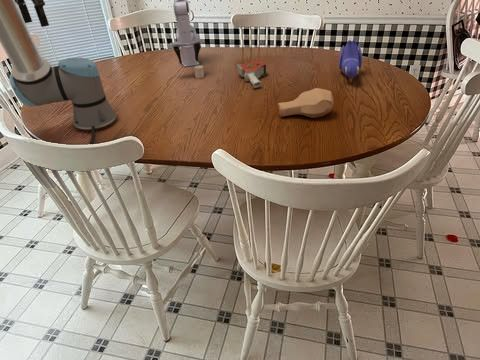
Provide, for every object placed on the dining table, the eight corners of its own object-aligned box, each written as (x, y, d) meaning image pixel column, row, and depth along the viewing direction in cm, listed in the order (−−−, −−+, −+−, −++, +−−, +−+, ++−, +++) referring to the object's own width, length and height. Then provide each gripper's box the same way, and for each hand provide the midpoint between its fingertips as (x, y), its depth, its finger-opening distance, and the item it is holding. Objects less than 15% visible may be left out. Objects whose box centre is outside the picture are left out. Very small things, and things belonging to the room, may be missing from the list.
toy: (337, 76, 168) (339, 86, 146) (339, 39, 162) (341, 42, 139) (359, 76, 166) (364, 85, 144) (361, 37, 159) (367, 41, 137)
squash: (337, 118, 126) (338, 97, 119) (281, 128, 127) (279, 108, 121) (330, 101, 133) (330, 80, 127) (277, 111, 135) (275, 90, 128)
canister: (203, 74, 169) (202, 64, 167) (204, 77, 166) (203, 67, 163) (195, 75, 169) (194, 65, 166) (195, 78, 166) (194, 68, 163)
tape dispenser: (257, 93, 151) (279, 75, 164) (257, 81, 148) (279, 63, 160) (223, 84, 159) (246, 67, 171) (222, 73, 155) (246, 57, 168)
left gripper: (40, -41, 122) (62, 25, 134) (8, -41, 135) (31, 19, 147) (18, -38, 117) (43, 30, 130) (-12, -39, 130) (12, 23, 143)
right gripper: (170, 35, 153) (175, 66, 161) (202, 30, 156) (206, 61, 164) (167, 31, 158) (172, 62, 166) (198, 27, 162) (202, 57, 170)
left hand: (36, 24), depth 138 cm, fingers open, 13 cm apart
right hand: (188, 61), depth 166 cm, fingers open, 7 cm apart
